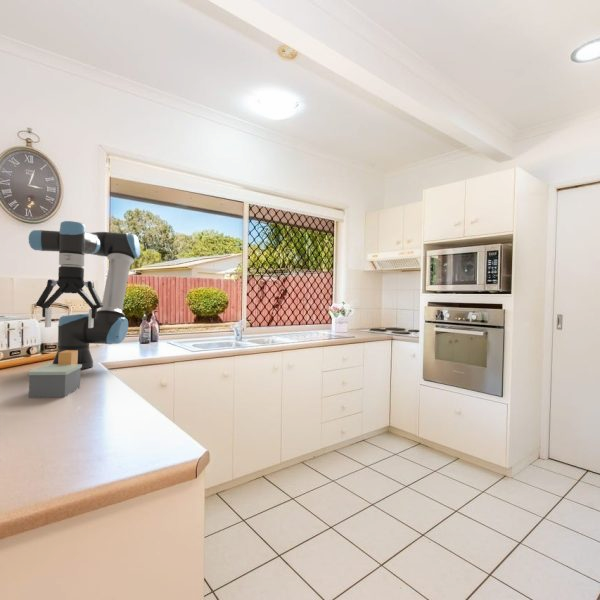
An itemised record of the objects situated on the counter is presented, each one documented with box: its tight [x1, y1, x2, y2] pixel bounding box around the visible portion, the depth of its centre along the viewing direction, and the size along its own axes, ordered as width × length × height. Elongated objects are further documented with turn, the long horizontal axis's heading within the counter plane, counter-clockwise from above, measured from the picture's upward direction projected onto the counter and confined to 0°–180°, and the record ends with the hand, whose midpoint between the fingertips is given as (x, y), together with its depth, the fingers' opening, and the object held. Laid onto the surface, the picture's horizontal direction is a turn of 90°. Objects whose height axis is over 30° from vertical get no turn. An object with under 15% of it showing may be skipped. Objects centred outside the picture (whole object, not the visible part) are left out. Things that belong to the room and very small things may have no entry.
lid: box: [27, 350, 82, 376], centre depth 122 cm, size 18×11×6 cm, turn 11°
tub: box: [28, 368, 82, 398], centre depth 120 cm, size 12×10×7 cm
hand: (69, 327), depth 128 cm, fingers open, 13 cm apart
